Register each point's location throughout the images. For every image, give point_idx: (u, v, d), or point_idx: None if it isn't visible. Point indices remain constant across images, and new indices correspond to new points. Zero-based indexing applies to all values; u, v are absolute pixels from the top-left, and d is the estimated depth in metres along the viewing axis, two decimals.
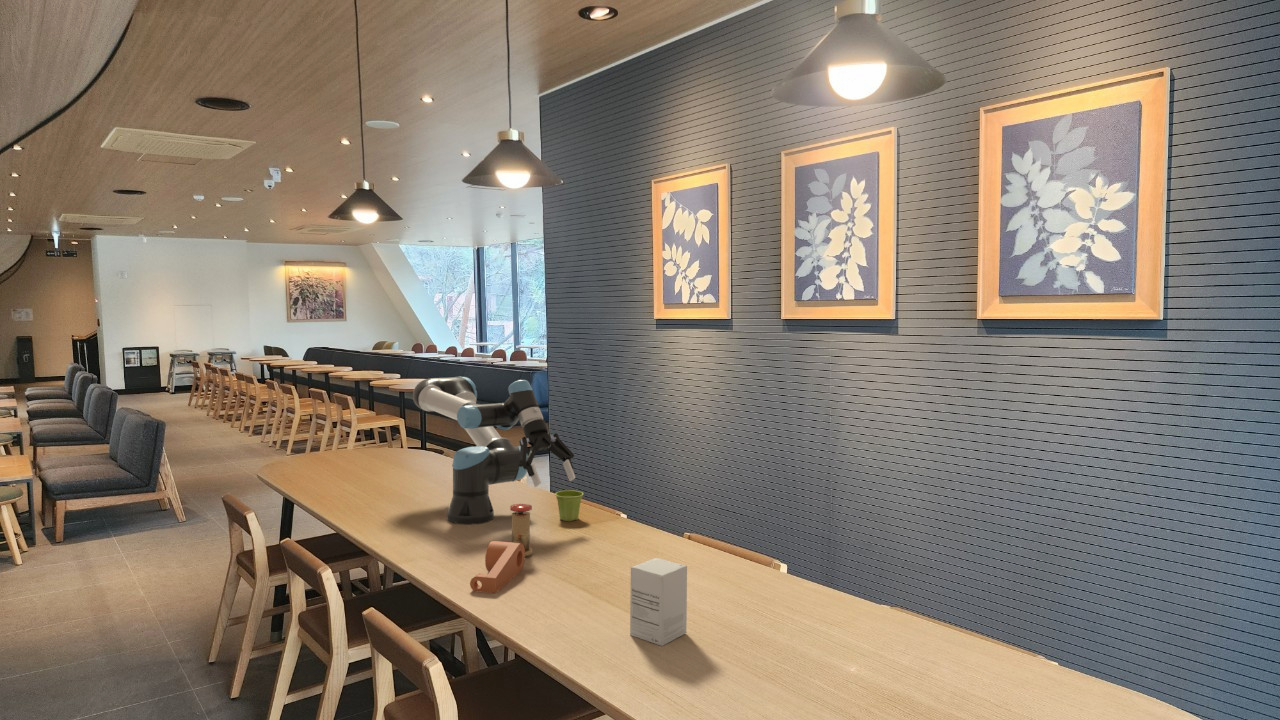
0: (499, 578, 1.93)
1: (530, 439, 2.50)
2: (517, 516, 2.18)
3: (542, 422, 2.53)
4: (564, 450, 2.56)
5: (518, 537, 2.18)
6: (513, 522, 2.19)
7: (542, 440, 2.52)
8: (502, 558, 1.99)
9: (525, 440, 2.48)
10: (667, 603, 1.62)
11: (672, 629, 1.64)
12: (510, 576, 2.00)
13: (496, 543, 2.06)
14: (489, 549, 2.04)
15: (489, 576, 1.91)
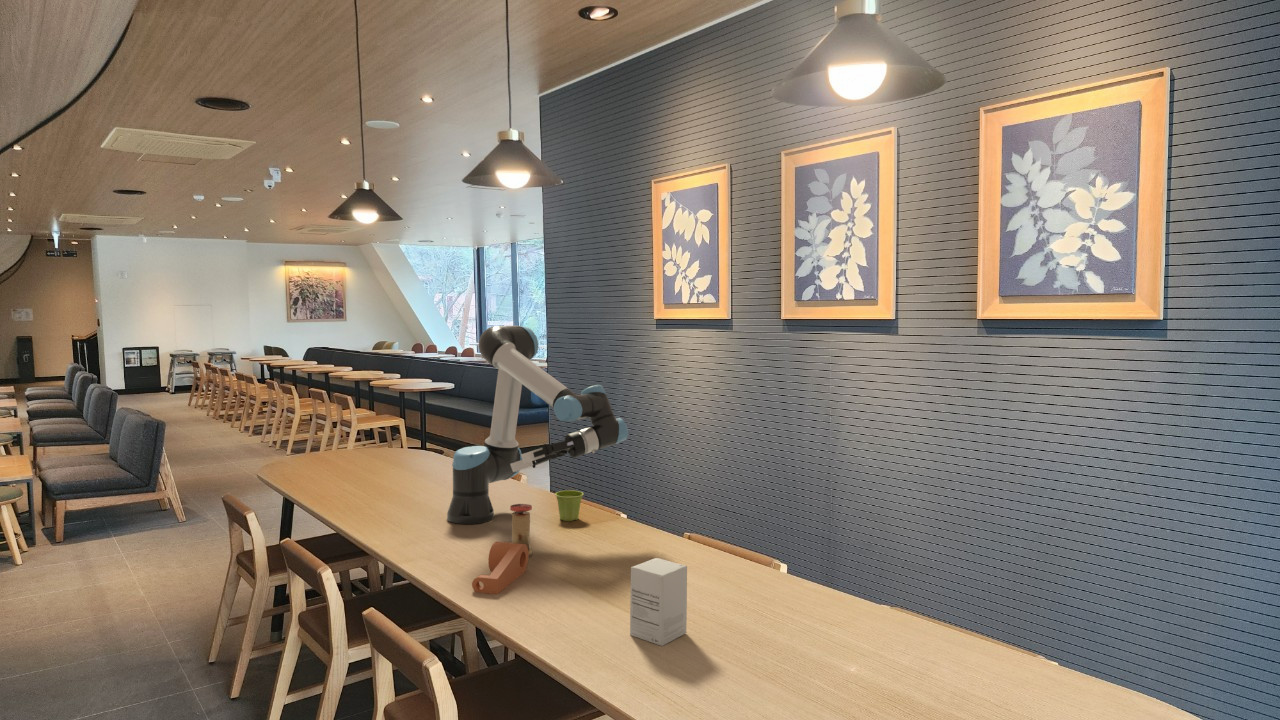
0: (501, 579, 1.92)
1: None
2: (517, 516, 2.18)
3: None
4: None
5: (518, 537, 2.18)
6: (513, 522, 2.19)
7: None
8: (505, 559, 1.98)
9: (570, 448, 2.33)
10: (667, 603, 1.62)
11: (672, 629, 1.64)
12: (513, 577, 1.99)
13: (499, 544, 2.05)
14: (492, 550, 2.04)
15: (491, 577, 1.90)
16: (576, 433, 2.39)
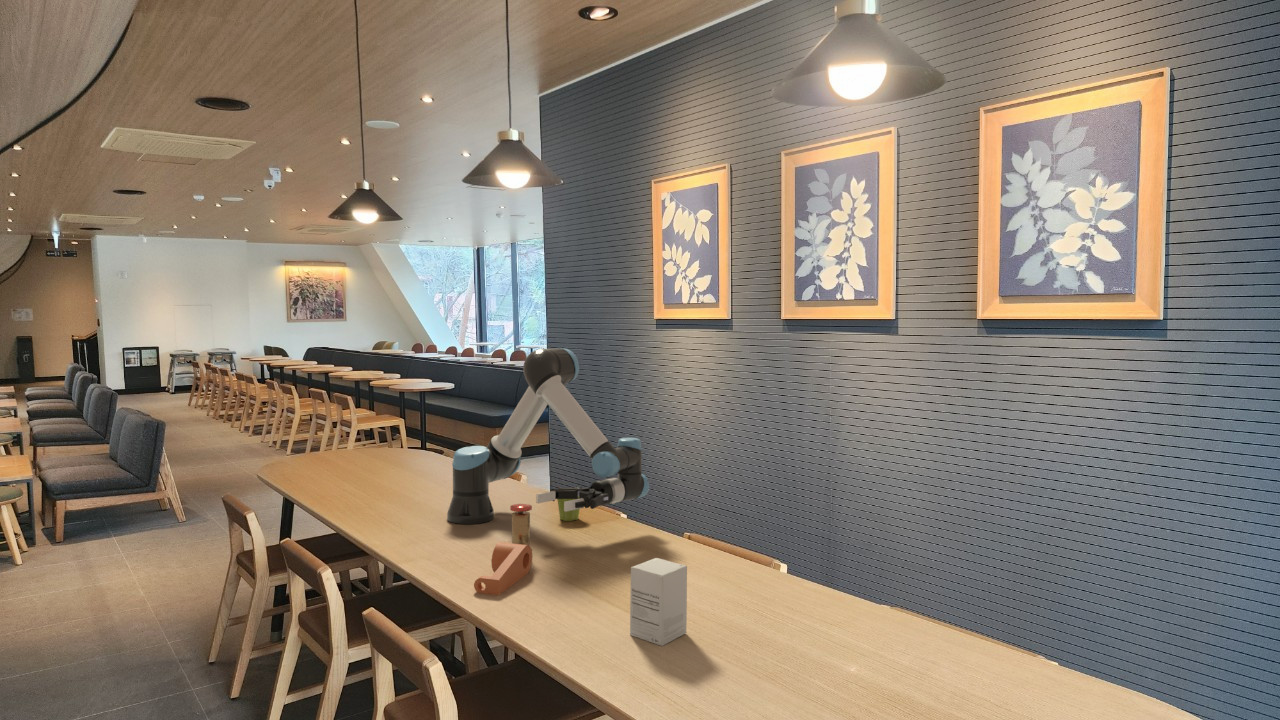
0: (503, 580, 1.91)
1: None
2: (517, 516, 2.18)
3: None
4: None
5: (518, 537, 2.18)
6: (513, 522, 2.19)
7: None
8: (507, 560, 1.97)
9: None
10: (667, 603, 1.62)
11: (672, 629, 1.64)
12: (516, 578, 1.99)
13: (503, 545, 2.05)
14: (495, 550, 2.03)
15: (492, 578, 1.90)
16: (608, 484, 2.38)
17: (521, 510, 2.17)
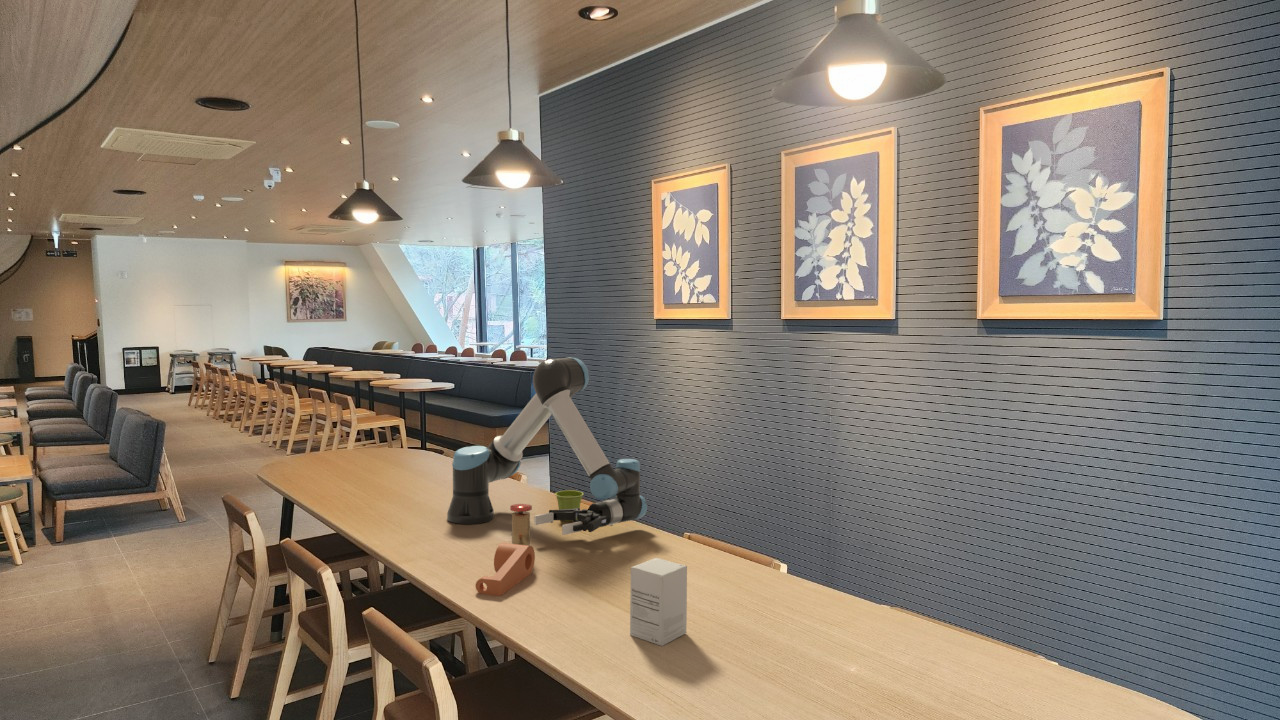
0: (505, 581, 1.91)
1: None
2: (517, 516, 2.18)
3: None
4: None
5: (518, 537, 2.18)
6: (513, 522, 2.19)
7: None
8: (509, 560, 1.97)
9: None
10: (667, 603, 1.62)
11: (672, 629, 1.64)
12: (518, 579, 1.98)
13: (505, 545, 2.04)
14: (498, 551, 2.03)
15: (494, 578, 1.89)
16: (606, 506, 2.39)
17: (521, 510, 2.17)
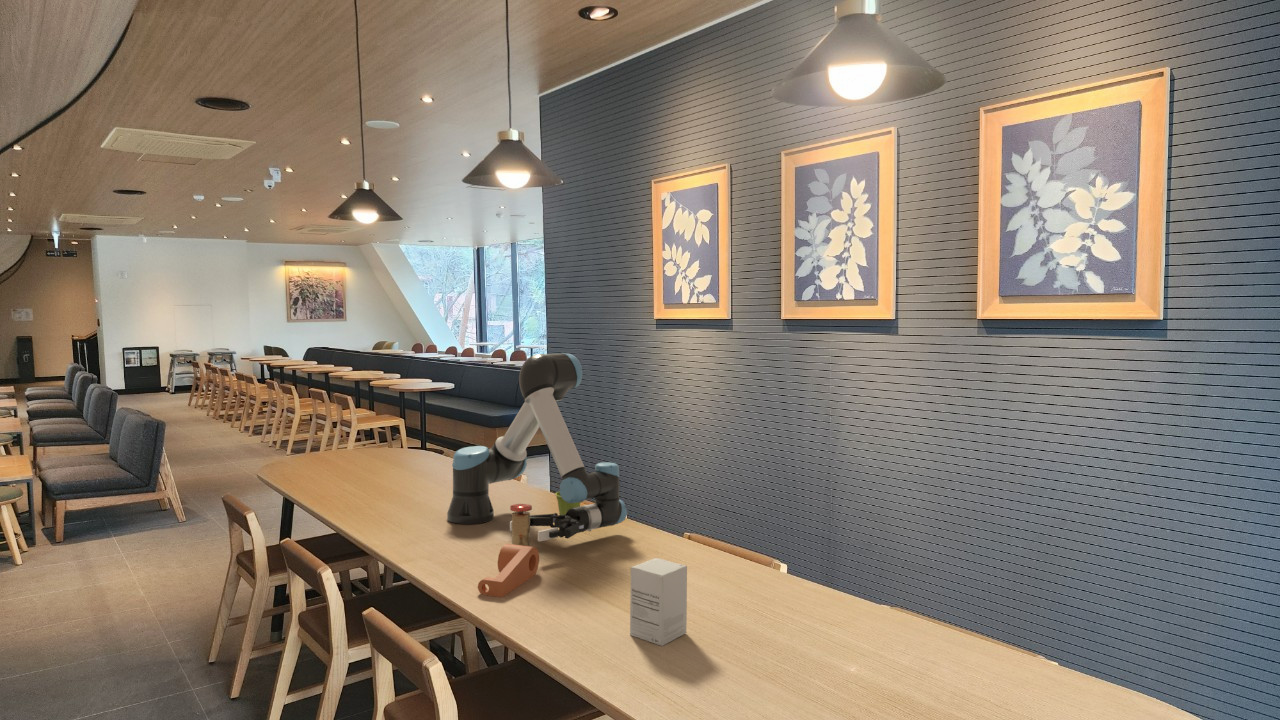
0: (507, 582, 1.90)
1: None
2: (517, 516, 2.18)
3: None
4: None
5: (518, 537, 2.18)
6: (513, 522, 2.19)
7: None
8: (512, 562, 1.96)
9: None
10: (667, 603, 1.62)
11: (672, 629, 1.64)
12: (521, 580, 1.97)
13: (509, 546, 2.03)
14: (502, 552, 2.02)
15: (496, 579, 1.88)
16: (584, 511, 2.32)
17: (521, 510, 2.17)
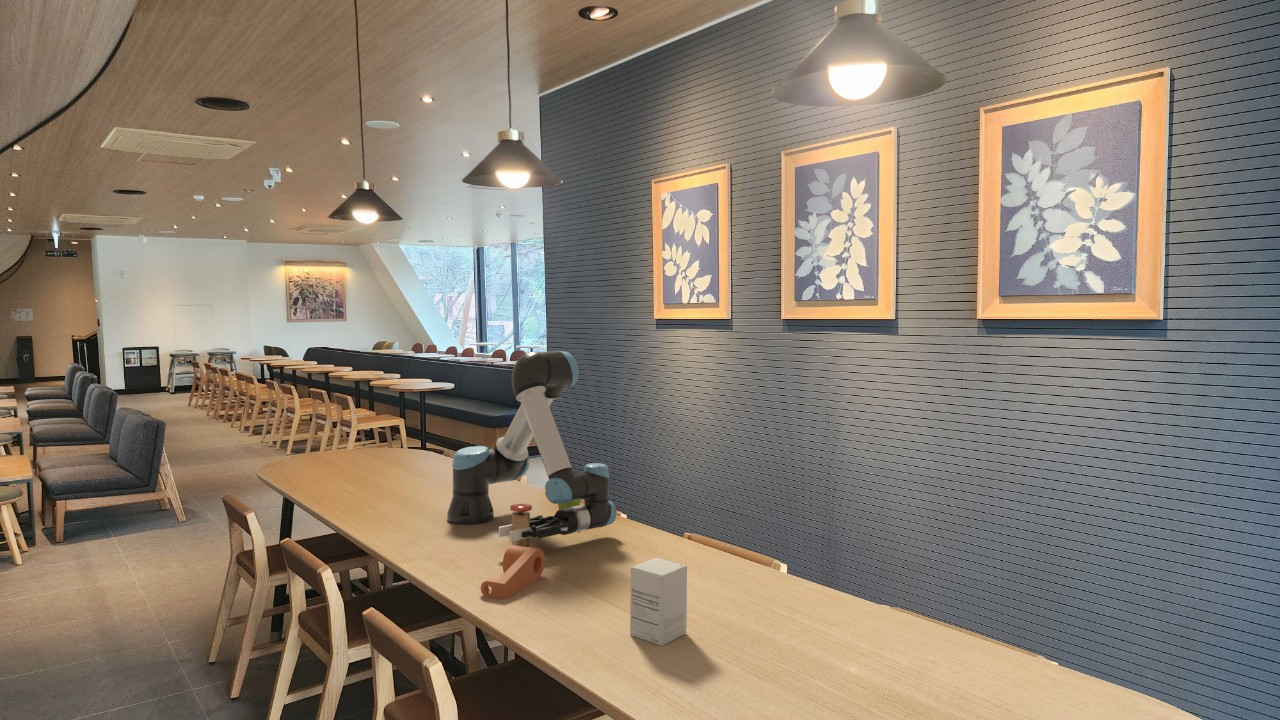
0: (510, 584, 1.89)
1: None
2: (517, 516, 2.18)
3: None
4: None
5: None
6: (513, 522, 2.19)
7: None
8: (516, 563, 1.95)
9: None
10: (667, 603, 1.62)
11: (672, 629, 1.64)
12: (525, 582, 1.96)
13: (514, 547, 2.02)
14: (507, 553, 2.01)
15: (498, 581, 1.87)
16: (573, 513, 2.30)
17: (521, 510, 2.17)
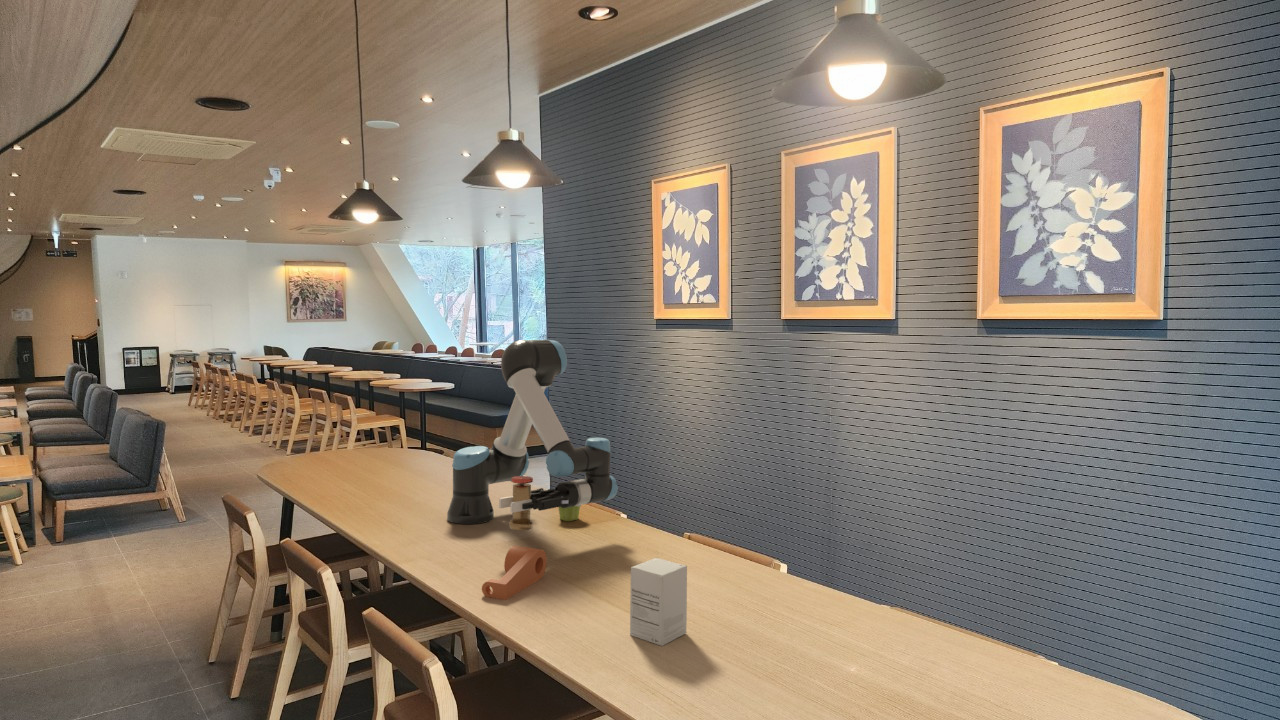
0: (511, 585, 1.88)
1: None
2: (518, 488, 2.17)
3: None
4: None
5: None
6: (514, 494, 2.18)
7: None
8: (518, 564, 1.94)
9: None
10: (667, 603, 1.62)
11: (672, 629, 1.64)
12: (527, 583, 1.95)
13: (516, 548, 2.02)
14: (508, 554, 2.00)
15: (500, 582, 1.87)
16: (574, 486, 2.29)
17: (522, 482, 2.16)
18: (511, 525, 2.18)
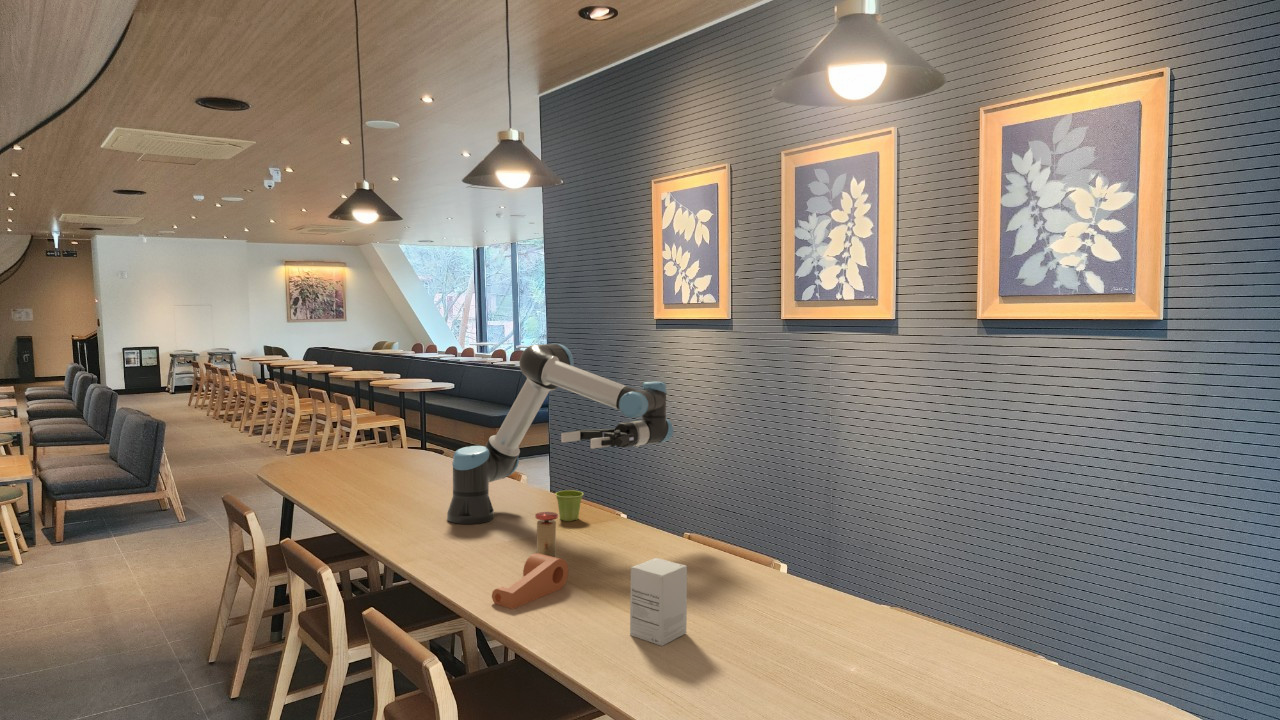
0: (520, 594, 1.82)
1: None
2: (543, 525, 2.09)
3: None
4: None
5: (543, 546, 2.09)
6: (538, 531, 2.10)
7: None
8: (532, 573, 1.88)
9: (629, 442, 2.30)
10: (667, 603, 1.62)
11: (672, 629, 1.64)
12: (541, 593, 1.88)
13: (537, 556, 1.96)
14: (528, 561, 1.95)
15: (508, 590, 1.81)
16: (633, 426, 2.36)
17: (547, 518, 2.08)
18: None
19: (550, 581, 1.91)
